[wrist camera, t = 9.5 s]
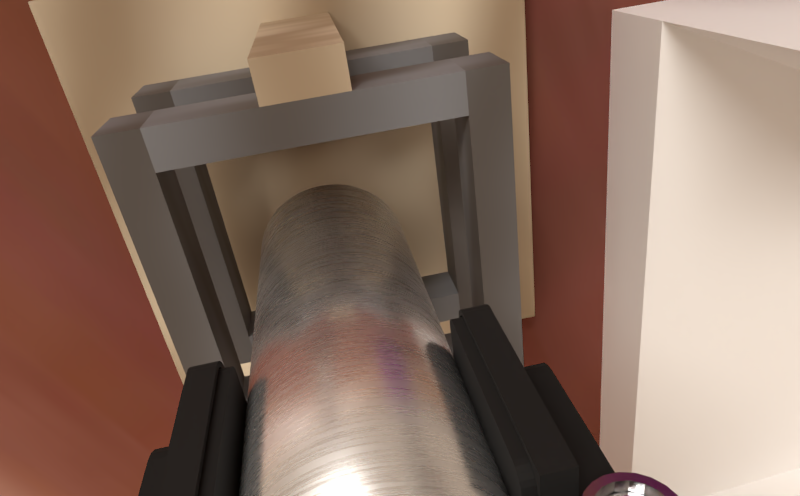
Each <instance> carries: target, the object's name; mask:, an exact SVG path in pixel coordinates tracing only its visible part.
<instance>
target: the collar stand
mask: <svg viewBox="0 0 800 496" xmlns="http://www.w3.org/2000/svg"><path fill="white" fill-rule="evenodd" d="M28 4H29V6H30V9H31V11H32V14H33V16H34V18H35V21H36V23H37V26H38V28H39V31H40V33H41V36H42V38H43V41H44V43H45V46H46V48H47V50H48V53H49V55H50V58H51V60H52V63H53V65H54V68H55V70H56V73H57V75H58V78H59V80H60V82H61V85H62V87H63V90H64V92H65V95H66V97H67V100H68V102H69V105H70V107H71V110H72V112H73V114H74V117H75V119H76V122H77V124H78V127H79V129H80V132H81V134H82V137H83V139H84V142H85V144H86V146H87V149H88V151H89V154H90V156H91V159H92V161H93V164H94V166H95V169H96V171H97V174H98V176H99V178H100V181H101V183H102V186H103V188H104V191H105V193H106V196H107V198H108V201H109V203H110V206H111V208H112V210H113V213H114V215H115V218H116V220H117V223H118V225H119V228H120V230H121V233H122V235H123V238H124V240H125V242H126V245H127V247H128V250H129V252H130V255H131V257H132V260H133V262H134V265H135V267H136V270H137V272H138V274H139V277H140V279H141V282H142V284H143V287H144V289H145V292H146V294H147V297H148V299H149V302H150V304H151V306H152V309H153V311H154V314H155V316H156V319H157V321H158V324H159V326H160V329H161V331H162V334H163V336H164V338H165V341H166V343H167V346H168V348H169V351H170V353H171V356H172V358H173V361H174V363H175V366H176V368H177V370H178V373H179V375H180V378H181V380H182V383H183V385H184V382H185V377H186V373H187V370H188V368H190V367H193V366H197V365H202V364H207V363H211V362H216V361H221V362H222V363H223V365H224V367H225V368H226V367H231V366H233V367H234V368H235V370H236V372H237V375H238V378H239V381H240V384H241V387H242V390H243V392H244V395H245V398H246V401H247V399H248V388H249V377H250V366H251V355H252V344H253V334H254V323H255V312H256V301H257V290H258V279H259V268H260V257H261V247H262V239H263V235H264V231H265V229H266V227H267V224H268V222H269V221H270V219H271V217H272V216H273V214H274V213H275V212H276V211H277V209H278V208H279V207H280V206H282V205H283V204H284V203H285V202H286V201H287V200H289V199H290V198H291V197H293V196H295V195H297V194H298V193H300V192H302V191H305V190H307V189H310V188H314V187H317V186H323V185H348V186H353V187H357V188H360V189H363V190H365V191H368V192H370V193H372V194H373V195H375V196H377V197H378V198H379V199H381V200H382V201H383V202H384V203H386V204H387V205H388V206H389V207H390V209H391V210H392V211H393V213H394V214H395V215H396V217H397V219H398V221H399V223H400V225H401V228H402V230H403V233H404V235H405V238H406V240H407V243H408V245H409V248H410V250H411V253H412V255H413V258H414V260H415V263H416V265H417V268H418V270H419V273H420V275H421V278H422V280H423V283H424V285H425V288H426V290H427V292H428V295H429V297H430V300H431V302H432V305H433V307H434V310H435V312H436V315H437V317H438V320H439V322H440V325H441V327H442V330H443V332H444V335H445V337H446V340H447V342H448V345H449V347H450V350H451V352H452V355H453V347H452V339H451V330H450V319H455V318H459V310H461V309H465V308H470V307H475V306H479V305H484V304H488V305H489V306H490V308H491V309H492V311H493V313H494V315H495V317H496V318H497V320H498V322H499V324H500V326H501V327H502V329H503V331H504V333H505V335H506V336H507V338H508V340H509V342H510V343H511V345H512V347H513V349H514V351H515V352H516V354H517V356H518V358H519V360H520V361H521V363H522V365H523V367H524V360H523V338H522V319H524V318H528V317H533V316H535V300H534V271H533V241H532V211H531V181H530V151H529V121H528V91H527V61H526V31H525V1H524V0H34V1H29V2H28ZM453 357H454V355H453Z"/></svg>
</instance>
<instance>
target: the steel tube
mask: <svg viewBox="0 0 800 496" xmlns="http://www.w3.org/2000/svg"><path fill="white" fill-rule="evenodd" d="M239 496H509V494H508V492H507V489H506V487H505V484H504V482H503V479H502V477H501V474H500V472H499V469H498V467H497V464H496V462H495V459H494V457H493V454H492V452H491V450H490V447H489V445H488V442H487V440H486V437H485V435H484V432H483V430H482V427H481V425H480V422H479V420H478V417H477V415H476V412H475V410H474V407H473V405H472V402H471V400H470V397H469V395H468V392H467V390H466V387H465V385H464V382H463V380H462V377H461V375H460V372H459V370H458V367H457V365H456V362H455V360H454V357H453V355H452V352H451V350H450V347H449V345H448V342H447V340H446V337H445V335H444V332H443V330H442V327H441V325H440V322H439V320H438V317H437V315H436V312H435V310H434V307H433V305H432V302H431V300H430V297H429V295H428V292H427V290H426V288H425V285H424V283H423V280H422V278H421V275H420V273H419V270H418V268H417V265H416V263H415V260H414V258H413V255H412V253H411V250H410V248H409V245H408V243H407V240H406V238H405V235H404V233H403V230H402V228H401V225H400V223H399V221H398V219H397V217H396V215H395V214H394V213H393V211H392V210H391V209H390V207H389V206H388V205H387V204H386V203H384V202H383V201H382V200H381V199H379V198H378V197H377V196H375V195H373V194H372V193H370V192H368V191H365V190H363V189H360V188H357V187H353V186H348V185H323V186H317V187H314V188H310V189H307V190H305V191H302V192H300V193H298V194H297V195H295V196H293V197H291V198H290V199H289V200H287V201H286V202H285V203H284V204H283V205H282V206H280V207H279V208H278V209H277V211H276V212H275V213H274V214H273V216H272V217H271V219H270V221H269V222H268V224H267V227H266V229H265V231H264V235H263V239H262V247H261V257H260V268H259V279H258V290H257V301H256V312H255V323H254V334H253V344H252V355H251V366H250V377H249V388H248V399H247V410H246V421H245V432H244V443H243V453H242V464H241V475H240V486H239Z"/></svg>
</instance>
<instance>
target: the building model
mask: <svg viewBox="0 0 800 496" xmlns="http://www.w3.org/2000/svg"><path fill="white" fill-rule="evenodd" d="M600 449H601V451H602V452H603V454H604V455H605V457H606V459H607V460H608V462H609V463H610V465H611V467H612V468H613V470H614V471H615V473H616V472H630V473H638V474H641V475H645V476H648V477H652V478H653V479H655V480H657V481H659V482H661V483H663V484H665V485H666V486H668V487H669V488H670V489H671V490H672V491H673V492H674V493H676V494H677V495H678V496H800V0H666V1H660V2H655V3H649V4H643V5H638V6H632V7H626V8H621V9H615V10H612V31H611V66H610V101H609V136H608V171H607V206H606V240H605V275H604V310H603V345H602V380H601V415H600Z"/></svg>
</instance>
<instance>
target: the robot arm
mask: <svg viewBox="0 0 800 496" xmlns="http://www.w3.org/2000/svg"><path fill="white" fill-rule="evenodd" d="M450 330H451V339H452V347H453V355H454V360H455V362H456V365H457V367H458V370H459V372H460V375H461V377H462V380H463V382H464V385H465V387H466V390H467V392H468V395H469V397H470V400H471V402H472V405H473V407H474V410H475V412H476V415H477V417H478V420H479V422H480V425H481V427H482V430H483V432H484V435H485V437H486V440H487V442H488V445H489V447H490V450H491V452H492V454H493V457H494V459H495V462H496V464H497V467H498V469H499V472H500V474H501V477H502V479H503V482H504V484H505V487H506V489H507V492H508V494H509V496H678V495H677V494H676V493H674V492H673V491H672V490H671V489H670V488H669V487H668V486H666V485H665V484H663V483H661V482H659V481H657V480H655V479H653V478H652V477H648V476H645V475H641V474H638V473H630V472H616V473H615V471H614V470H613V468H612V467H611V465H610V463H609V462H608V460H607V459H606V457H605V455H604V454H603V452H602V451H601V449H600V447H599V446H598V444H597V442H596V441H595V439H594V438H593V436H592V434H591V433H590V431H589V430H588V428H587V426H586V425H585V423H584V421H583V420H582V418H581V417H580V415H579V413H578V412H577V410H576V409H575V407H574V405H573V404H572V402H571V401H570V399H569V397H568V396H567V394H566V392H565V391H564V389H563V388H562V386H561V384H560V383H559V381H558V380H557V378H556V376H555V375H554V373H553V372H552V370H551V369H550V367H549V366H548V365H547V364H545V363H541V364H536V365H532V366H527V367H523V365H522V363H521V361H520V360H519V358H518V356H517V354H516V352H515V351H514V349H513V347H512V345H511V343H510V342H509V340H508V338H507V336H506V335H505V333H504V331H503V329H502V327H501V326H500V324H499V322H498V320H497V318H496V317H495V315H494V313H493V311H492V309H491V308H490V306H489V305H488V304H484V305H479V306H475V307H470V308H465V309H461V310H459V318H455V319H450ZM246 410H247V401H246V398H245V395H244V392H243V390H242V387H241V384H240V381H239V378H238V375H237V372H236V370H235V368H234V367H233V366H231V367H226V368H225V367H224V365H223V363H222V362H221V361H216V362H211V363H207V364H202V365H197V366H193V367H190V368H188V370H187V373H186V377H185V382H184V386H183V390H182V394H181V398H180V402H179V407H178V411H177V415H176V419H175V423H174V427H173V432H172V436H171V440H170V444H169V447H164V448H160V449H155V450H154V451H153V452H152V453H151V455H150V457H149V460H148V463H147V466H146V470H145V473H144V477H143V481H142V484H141V488H140V492H139V495H138V496H239V486H240V475H241V464H242V453H243V443H244V432H245V421H246Z"/></svg>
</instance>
